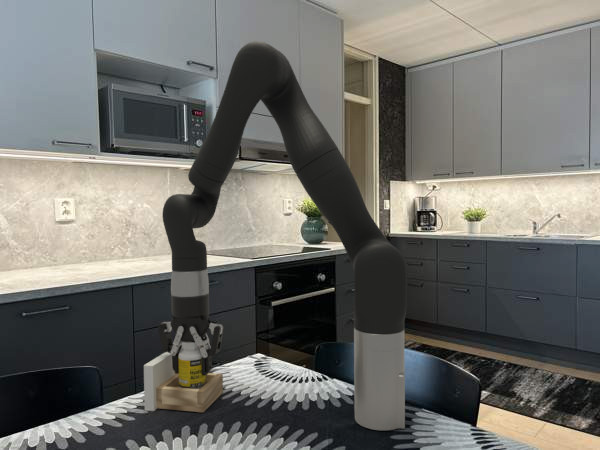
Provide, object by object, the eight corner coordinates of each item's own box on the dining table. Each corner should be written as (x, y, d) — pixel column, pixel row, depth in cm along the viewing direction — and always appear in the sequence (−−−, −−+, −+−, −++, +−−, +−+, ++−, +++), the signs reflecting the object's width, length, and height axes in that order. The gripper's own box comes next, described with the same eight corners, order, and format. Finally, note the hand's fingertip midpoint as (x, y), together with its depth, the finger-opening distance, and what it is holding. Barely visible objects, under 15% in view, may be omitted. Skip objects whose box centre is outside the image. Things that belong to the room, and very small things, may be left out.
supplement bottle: (190, 394, 91) (189, 345, 90) (173, 388, 94) (172, 341, 94) (211, 386, 95) (210, 339, 95) (194, 380, 98) (193, 335, 98)
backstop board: (182, 387, 102) (181, 347, 101) (153, 411, 90) (152, 366, 90) (174, 387, 102) (173, 347, 102) (144, 410, 90) (143, 365, 90)
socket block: (223, 392, 98) (222, 373, 98) (203, 412, 89) (203, 392, 89) (180, 388, 101) (180, 370, 101) (156, 408, 91) (156, 388, 91)
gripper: (229, 289, 96) (231, 369, 97) (167, 287, 99) (169, 365, 100) (215, 296, 89) (217, 382, 89) (148, 294, 92) (150, 377, 92)
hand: (192, 372), depth 94 cm, fingers closed on supplement bottle, 5 cm apart
